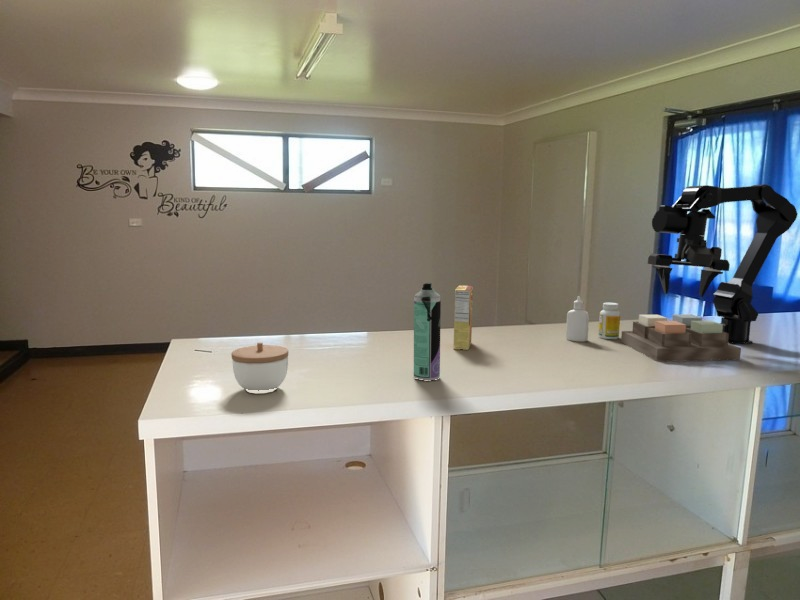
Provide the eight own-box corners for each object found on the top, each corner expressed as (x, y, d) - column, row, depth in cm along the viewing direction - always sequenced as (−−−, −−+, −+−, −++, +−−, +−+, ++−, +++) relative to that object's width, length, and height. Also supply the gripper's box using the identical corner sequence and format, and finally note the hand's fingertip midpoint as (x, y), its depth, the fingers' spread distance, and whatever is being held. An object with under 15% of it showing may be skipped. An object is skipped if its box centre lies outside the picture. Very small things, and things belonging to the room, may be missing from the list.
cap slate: (690, 325, 154) (691, 314, 154) (701, 329, 149) (702, 317, 149) (672, 325, 154) (672, 314, 154) (681, 329, 149) (682, 317, 149)
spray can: (443, 380, 121) (444, 284, 118) (418, 382, 120) (419, 285, 117) (434, 373, 127) (435, 281, 124) (410, 375, 125) (410, 282, 122)
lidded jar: (268, 401, 108) (266, 351, 107) (221, 394, 112) (219, 346, 111) (299, 385, 118) (298, 339, 116) (255, 379, 122) (254, 335, 121)
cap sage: (709, 332, 145) (711, 320, 145) (721, 336, 140) (722, 324, 140) (690, 332, 145) (691, 320, 145) (701, 337, 140) (702, 324, 140)
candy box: (456, 342, 157) (457, 285, 155) (472, 342, 156) (473, 285, 154) (453, 349, 149) (454, 289, 146) (469, 350, 148) (471, 290, 145)
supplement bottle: (594, 337, 164) (596, 303, 162) (605, 334, 167) (607, 301, 165) (612, 340, 159) (614, 305, 158) (622, 337, 163) (624, 303, 161)
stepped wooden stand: (694, 341, 158) (695, 319, 157) (739, 360, 138) (742, 335, 137) (621, 342, 157) (622, 320, 156) (656, 361, 138) (658, 335, 137)
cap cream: (657, 325, 154) (657, 314, 153) (666, 329, 149) (667, 317, 149) (638, 325, 154) (639, 314, 153) (647, 329, 149) (647, 318, 148)
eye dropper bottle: (576, 337, 163) (578, 294, 161) (590, 341, 158) (592, 297, 156) (563, 338, 161) (565, 295, 160) (577, 343, 156) (579, 298, 155)
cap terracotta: (674, 332, 145) (675, 320, 145) (684, 337, 140) (685, 324, 140) (654, 333, 145) (655, 321, 144) (664, 337, 140) (665, 324, 139)
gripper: (669, 232, 143) (660, 296, 145) (746, 239, 143) (736, 302, 145) (650, 232, 154) (642, 291, 156) (722, 237, 154) (713, 296, 156)
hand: (683, 295), depth 153 cm, fingers open, 9 cm apart
